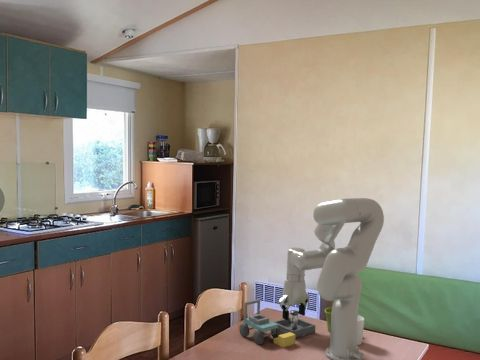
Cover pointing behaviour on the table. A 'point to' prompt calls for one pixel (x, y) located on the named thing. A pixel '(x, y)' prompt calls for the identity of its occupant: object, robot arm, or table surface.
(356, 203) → the robot arm
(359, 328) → the white cup
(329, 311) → the plant pot
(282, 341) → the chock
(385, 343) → the table surface
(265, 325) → the trolley
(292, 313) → the pin
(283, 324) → the tray
